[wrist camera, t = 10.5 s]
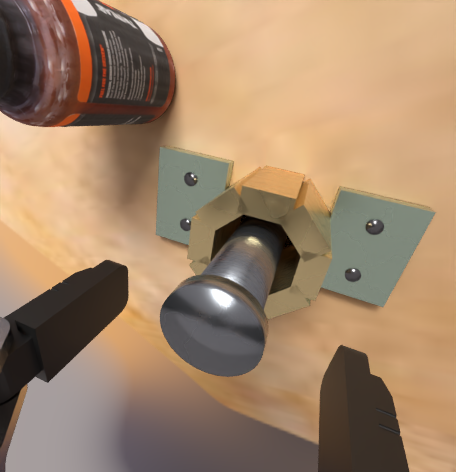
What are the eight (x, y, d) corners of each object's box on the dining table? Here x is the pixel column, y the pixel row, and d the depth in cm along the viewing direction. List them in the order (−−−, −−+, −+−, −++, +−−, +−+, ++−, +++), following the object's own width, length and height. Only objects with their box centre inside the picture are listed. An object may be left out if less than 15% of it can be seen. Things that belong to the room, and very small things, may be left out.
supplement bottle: (160, 5, 16) (-89, -166, 6) (191, 108, 18) (32, 97, 8) (90, 46, 19) (-170, -34, 9) (124, 134, 20) (-61, 149, 11)
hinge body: (167, 142, 20) (110, 151, 14) (431, 204, 16) (483, 246, 11) (162, 232, 23) (114, 266, 18) (379, 300, 19) (399, 369, 14)
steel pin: (250, 188, 19) (162, 272, 9) (303, 202, 18) (276, 311, 8) (240, 235, 21) (157, 351, 10) (288, 250, 20) (250, 391, 10)
